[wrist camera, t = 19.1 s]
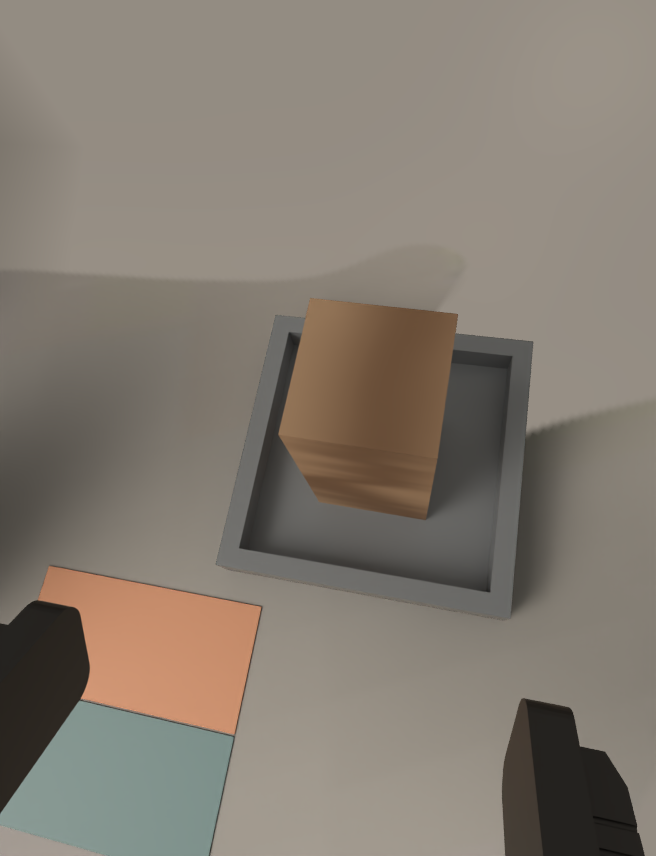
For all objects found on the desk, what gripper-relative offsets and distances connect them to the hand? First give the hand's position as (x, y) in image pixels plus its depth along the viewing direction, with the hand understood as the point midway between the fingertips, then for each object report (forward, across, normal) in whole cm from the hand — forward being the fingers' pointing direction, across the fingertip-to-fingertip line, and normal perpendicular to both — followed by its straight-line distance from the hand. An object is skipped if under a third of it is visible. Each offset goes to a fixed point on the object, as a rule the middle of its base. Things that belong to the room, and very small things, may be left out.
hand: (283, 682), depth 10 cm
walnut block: (+15, 0, +4) cm, 16 cm away
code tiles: (+8, +9, +13) cm, 17 cm away
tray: (+16, 0, +4) cm, 16 cm away
